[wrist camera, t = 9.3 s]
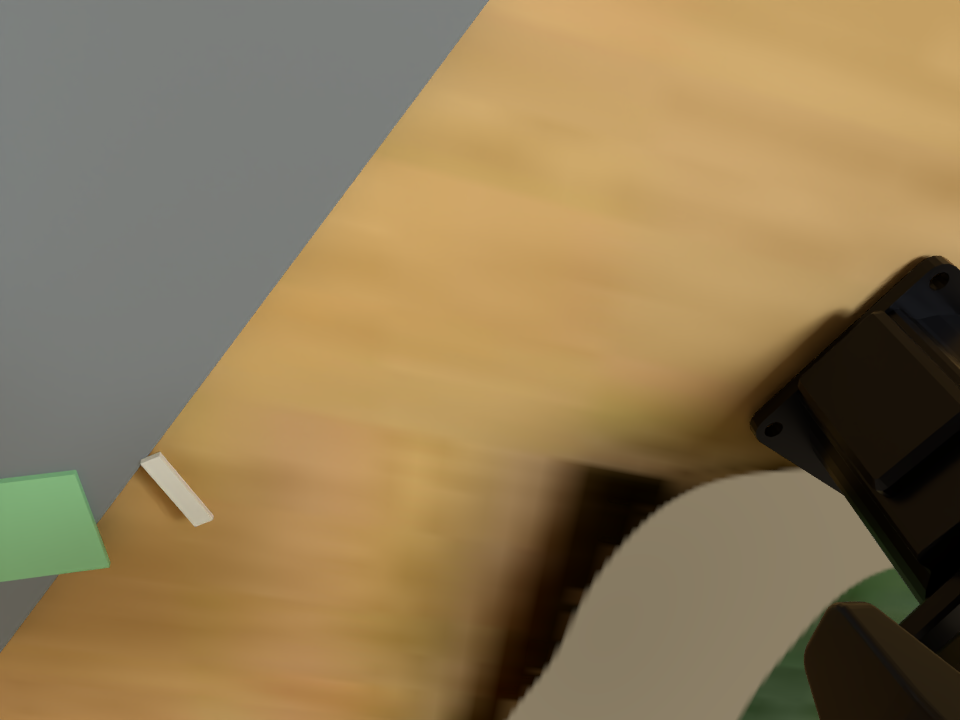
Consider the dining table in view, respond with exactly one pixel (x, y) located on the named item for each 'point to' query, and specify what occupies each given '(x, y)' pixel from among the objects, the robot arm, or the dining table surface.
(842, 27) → the dining table surface
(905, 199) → the dining table surface
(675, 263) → the dining table surface
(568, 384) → the dining table surface
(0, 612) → the grey board
